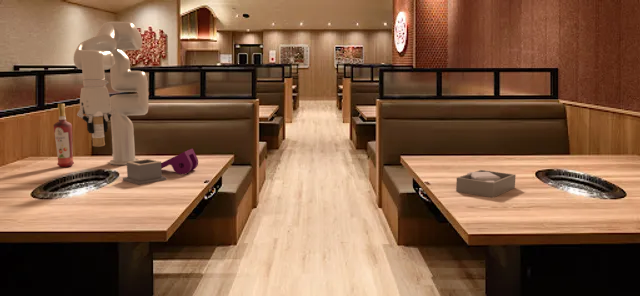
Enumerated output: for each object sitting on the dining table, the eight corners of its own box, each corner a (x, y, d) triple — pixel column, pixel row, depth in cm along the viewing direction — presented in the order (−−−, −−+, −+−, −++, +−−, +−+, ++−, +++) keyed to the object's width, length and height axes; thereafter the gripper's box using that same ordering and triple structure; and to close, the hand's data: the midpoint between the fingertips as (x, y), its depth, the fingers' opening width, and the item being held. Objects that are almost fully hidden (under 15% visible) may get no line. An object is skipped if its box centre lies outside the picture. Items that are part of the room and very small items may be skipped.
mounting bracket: (157, 187, 217) (193, 170, 214) (147, 169, 216) (184, 151, 213) (166, 182, 226) (201, 165, 223) (157, 165, 226) (192, 148, 223)
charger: (481, 193, 180) (466, 184, 195) (507, 192, 181) (490, 183, 196) (481, 180, 180) (467, 172, 195) (507, 179, 180) (490, 171, 195)
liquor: (78, 165, 234) (73, 103, 230) (68, 168, 227) (64, 104, 223) (63, 164, 235) (58, 103, 231) (53, 167, 228) (48, 104, 224)
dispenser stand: (456, 191, 186) (456, 177, 185) (479, 182, 200) (480, 169, 199) (492, 197, 177) (493, 183, 176) (514, 187, 191) (515, 174, 190)
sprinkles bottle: (94, 144, 199) (91, 110, 196) (106, 144, 200) (104, 110, 197) (91, 147, 194) (88, 111, 192) (103, 146, 195) (101, 111, 193)
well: (122, 180, 203) (121, 161, 202) (150, 175, 212) (149, 158, 211) (138, 184, 195) (137, 165, 194) (166, 179, 204) (165, 161, 203)
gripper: (111, 82, 201) (114, 129, 205) (67, 84, 189) (71, 133, 192) (120, 83, 197) (123, 131, 200) (75, 85, 184) (79, 135, 187)
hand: (97, 131), depth 196 cm, fingers closed on sprinkles bottle, 4 cm apart
